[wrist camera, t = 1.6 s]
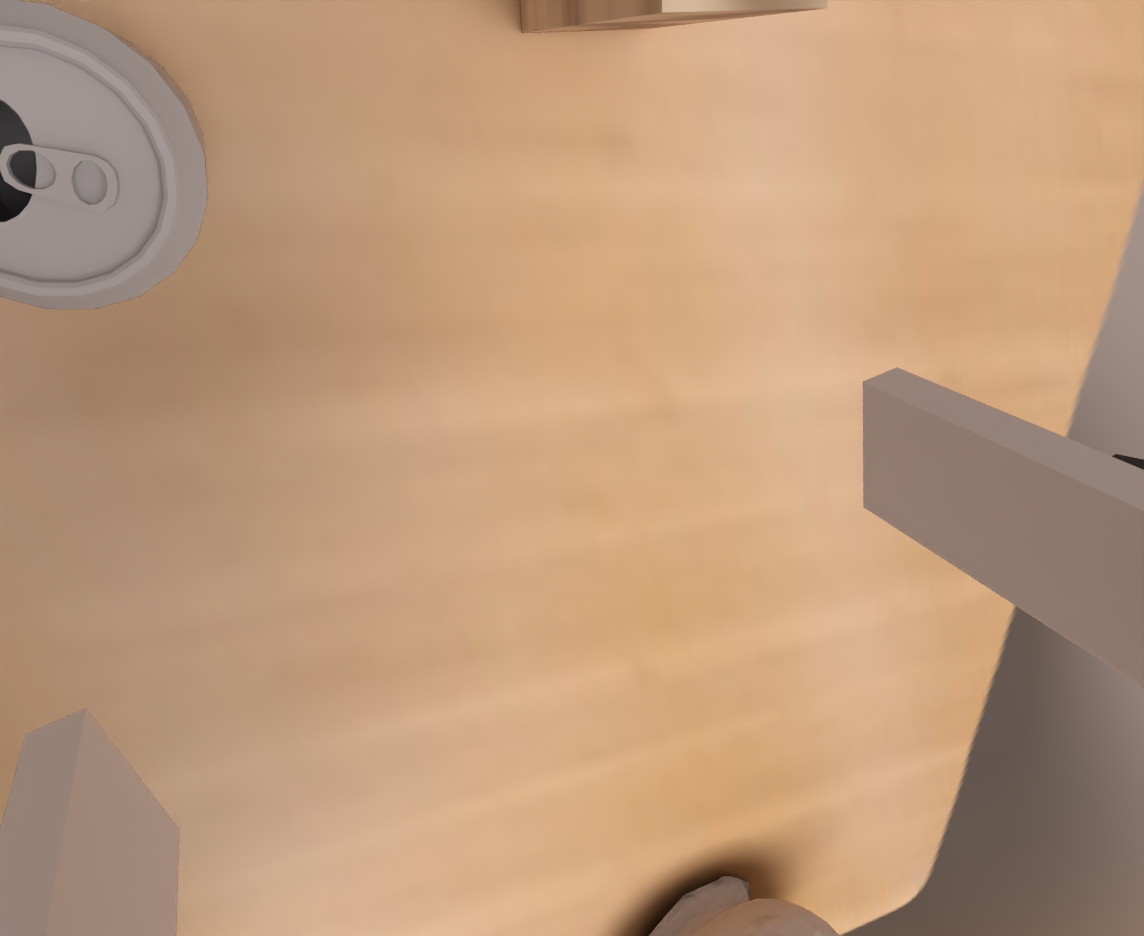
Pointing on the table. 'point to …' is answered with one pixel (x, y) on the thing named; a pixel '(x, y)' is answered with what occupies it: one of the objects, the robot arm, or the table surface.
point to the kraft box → (646, 13)
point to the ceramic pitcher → (738, 914)
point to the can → (90, 163)
